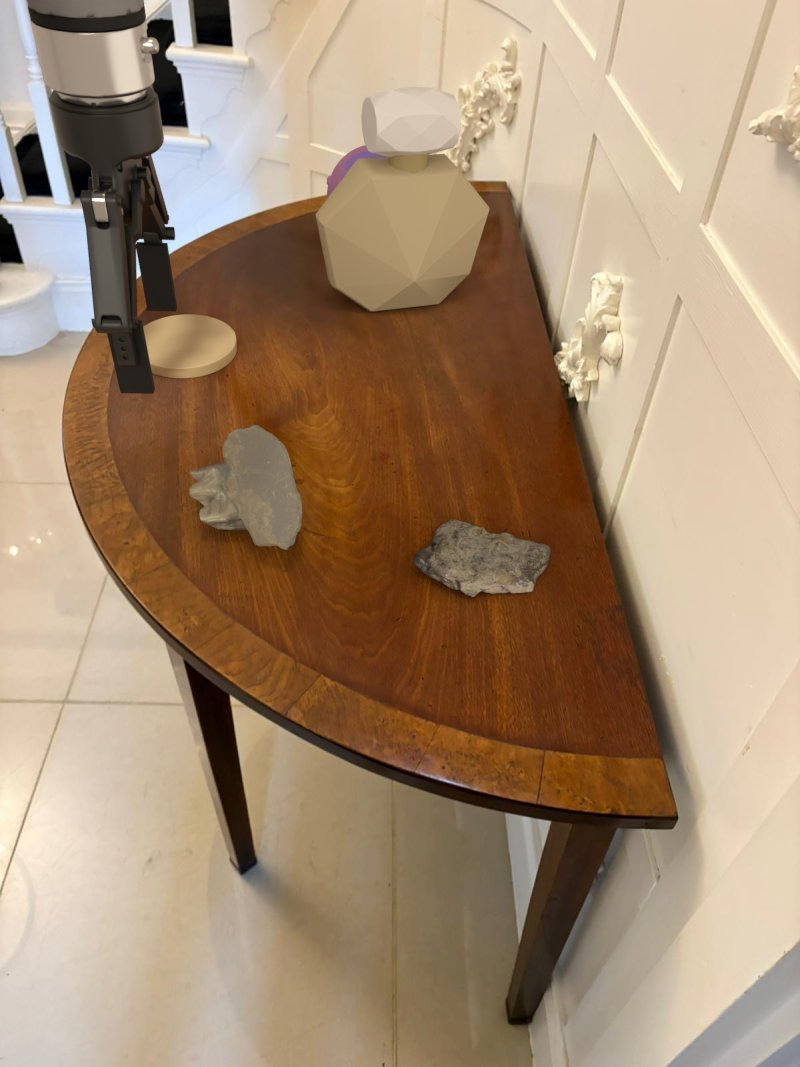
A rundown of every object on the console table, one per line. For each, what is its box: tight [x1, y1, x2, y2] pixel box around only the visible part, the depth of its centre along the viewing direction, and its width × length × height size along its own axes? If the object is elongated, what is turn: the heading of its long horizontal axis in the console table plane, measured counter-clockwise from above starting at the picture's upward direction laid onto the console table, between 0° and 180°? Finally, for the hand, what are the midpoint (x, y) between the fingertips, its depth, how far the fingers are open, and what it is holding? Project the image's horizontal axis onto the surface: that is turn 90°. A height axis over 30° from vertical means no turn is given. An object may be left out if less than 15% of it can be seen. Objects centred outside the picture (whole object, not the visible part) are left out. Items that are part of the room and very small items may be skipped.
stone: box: [412, 518, 552, 598], centre depth 77 cm, size 14×8×3 cm, turn 76°
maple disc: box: [143, 313, 238, 379], centre depth 101 cm, size 13×13×2 cm
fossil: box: [188, 424, 304, 551], centre depth 77 cm, size 14×10×10 cm
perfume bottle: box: [315, 86, 491, 313], centre depth 105 cm, size 12×24×28 cm, turn 108°
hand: (151, 347), depth 71 cm, fingers open, 13 cm apart
